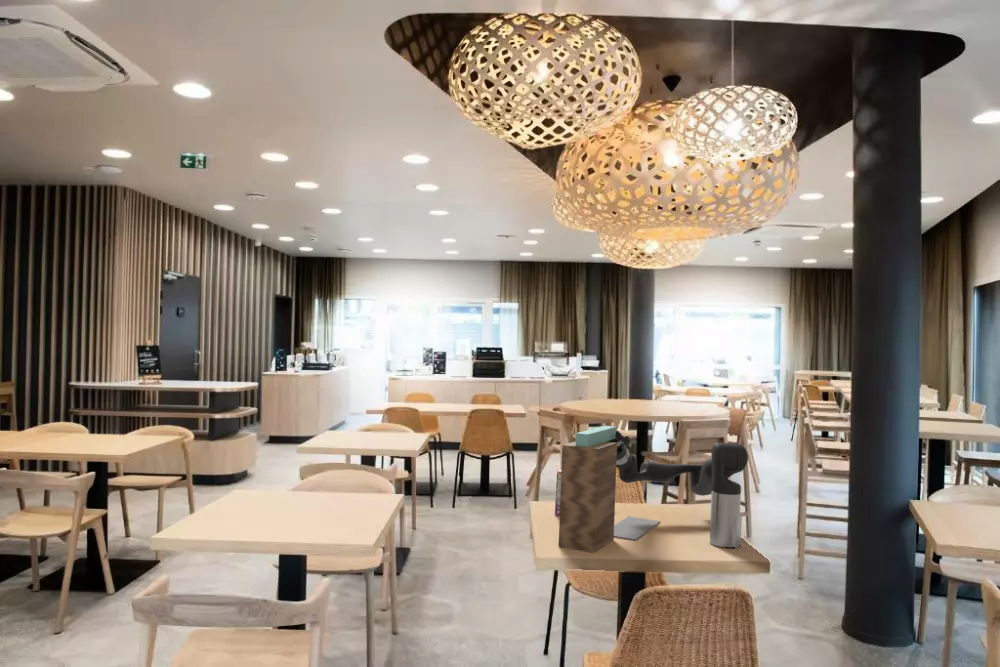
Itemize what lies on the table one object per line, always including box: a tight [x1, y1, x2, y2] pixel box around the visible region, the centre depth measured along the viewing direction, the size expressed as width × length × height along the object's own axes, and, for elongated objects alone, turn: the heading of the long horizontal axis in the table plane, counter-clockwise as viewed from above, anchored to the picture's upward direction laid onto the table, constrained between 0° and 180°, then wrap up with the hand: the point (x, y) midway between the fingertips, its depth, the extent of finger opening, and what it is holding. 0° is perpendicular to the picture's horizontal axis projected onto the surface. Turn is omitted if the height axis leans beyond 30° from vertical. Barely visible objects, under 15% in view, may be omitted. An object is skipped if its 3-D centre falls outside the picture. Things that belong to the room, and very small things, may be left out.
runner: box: [614, 516, 661, 542], centre depth 255 cm, size 12×30×1 cm, turn 152°
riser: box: [558, 440, 617, 553], centre depth 234 cm, size 12×18×32 cm, turn 152°
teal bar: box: [575, 425, 618, 447], centre depth 239 cm, size 4×28×4 cm, turn 152°
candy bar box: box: [554, 469, 561, 516], centre depth 272 cm, size 11×5×16 cm, turn 84°
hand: (604, 432), depth 246 cm, fingers open, 8 cm apart
